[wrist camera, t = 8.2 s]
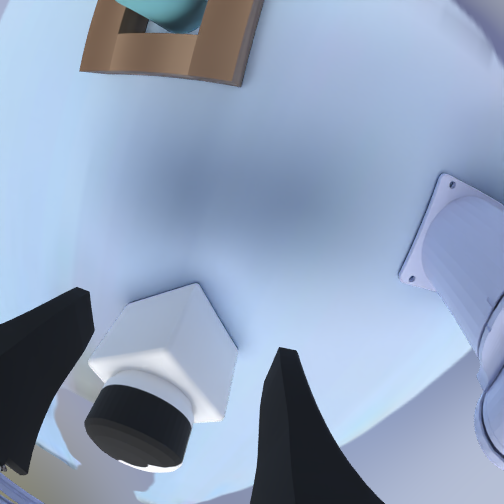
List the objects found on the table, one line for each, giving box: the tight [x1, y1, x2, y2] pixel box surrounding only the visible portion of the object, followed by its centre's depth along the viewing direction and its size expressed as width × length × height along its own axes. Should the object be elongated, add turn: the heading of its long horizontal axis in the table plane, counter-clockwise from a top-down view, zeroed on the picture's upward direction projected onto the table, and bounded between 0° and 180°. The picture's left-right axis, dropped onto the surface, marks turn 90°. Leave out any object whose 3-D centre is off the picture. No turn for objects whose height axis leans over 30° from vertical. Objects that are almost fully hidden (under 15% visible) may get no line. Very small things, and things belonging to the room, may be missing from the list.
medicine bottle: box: [85, 283, 238, 472], centre depth 18 cm, size 7×7×12 cm
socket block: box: [80, 0, 264, 87], centre depth 11 cm, size 9×9×3 cm
